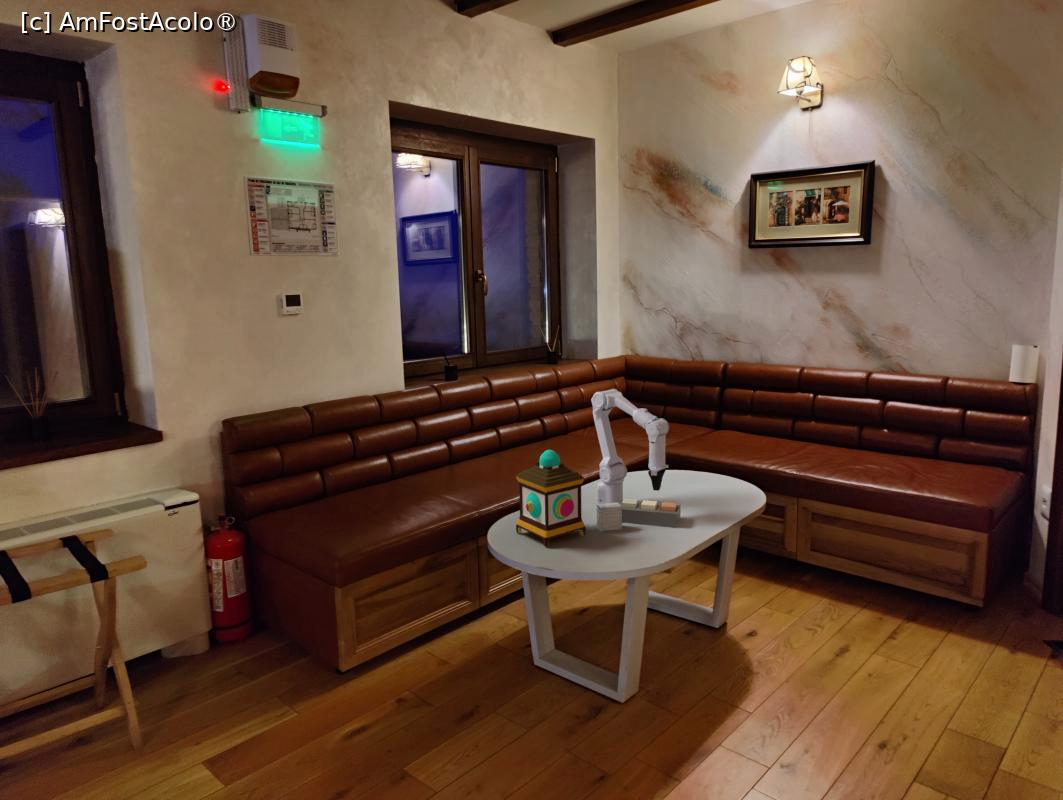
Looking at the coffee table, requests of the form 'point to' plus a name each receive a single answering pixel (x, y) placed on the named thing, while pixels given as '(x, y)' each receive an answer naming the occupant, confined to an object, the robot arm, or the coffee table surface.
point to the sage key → (630, 503)
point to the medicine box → (609, 516)
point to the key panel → (651, 516)
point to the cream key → (649, 505)
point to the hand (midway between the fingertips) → (656, 489)
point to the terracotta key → (669, 506)
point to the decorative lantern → (550, 499)
